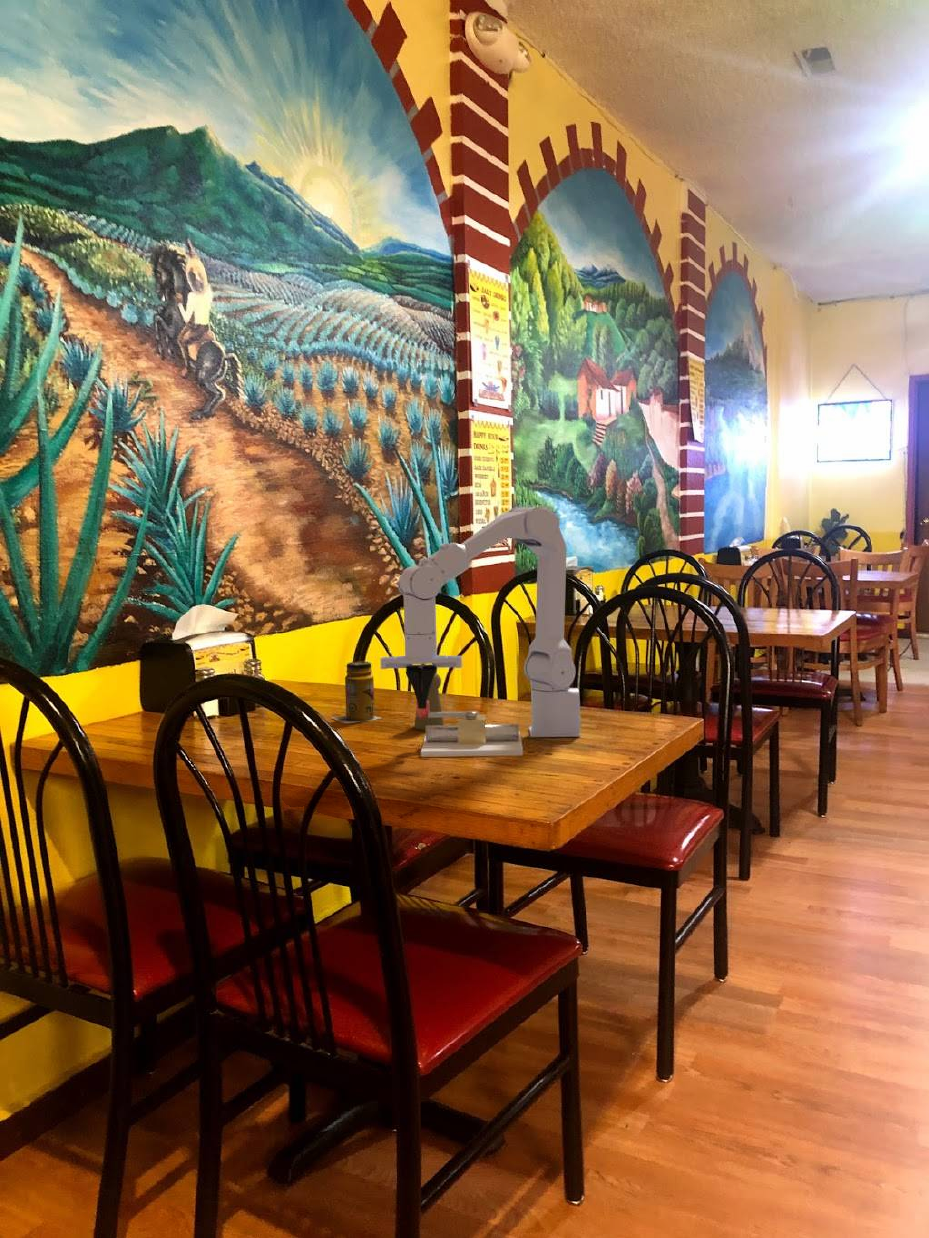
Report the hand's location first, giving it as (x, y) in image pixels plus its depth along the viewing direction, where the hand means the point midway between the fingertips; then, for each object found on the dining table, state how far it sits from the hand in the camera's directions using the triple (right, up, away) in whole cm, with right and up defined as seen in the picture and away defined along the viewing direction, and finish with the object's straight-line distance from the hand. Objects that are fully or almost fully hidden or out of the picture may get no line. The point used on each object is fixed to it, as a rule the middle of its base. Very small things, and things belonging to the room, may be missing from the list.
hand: (422, 707), depth 175 cm
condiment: (-15, -6, +31) cm, 35 cm away
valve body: (+9, -7, +3) cm, 12 cm away
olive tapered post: (0, -6, +21) cm, 22 cm away
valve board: (+9, -7, +3) cm, 12 cm away
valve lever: (+4, -2, +3) cm, 6 cm away
